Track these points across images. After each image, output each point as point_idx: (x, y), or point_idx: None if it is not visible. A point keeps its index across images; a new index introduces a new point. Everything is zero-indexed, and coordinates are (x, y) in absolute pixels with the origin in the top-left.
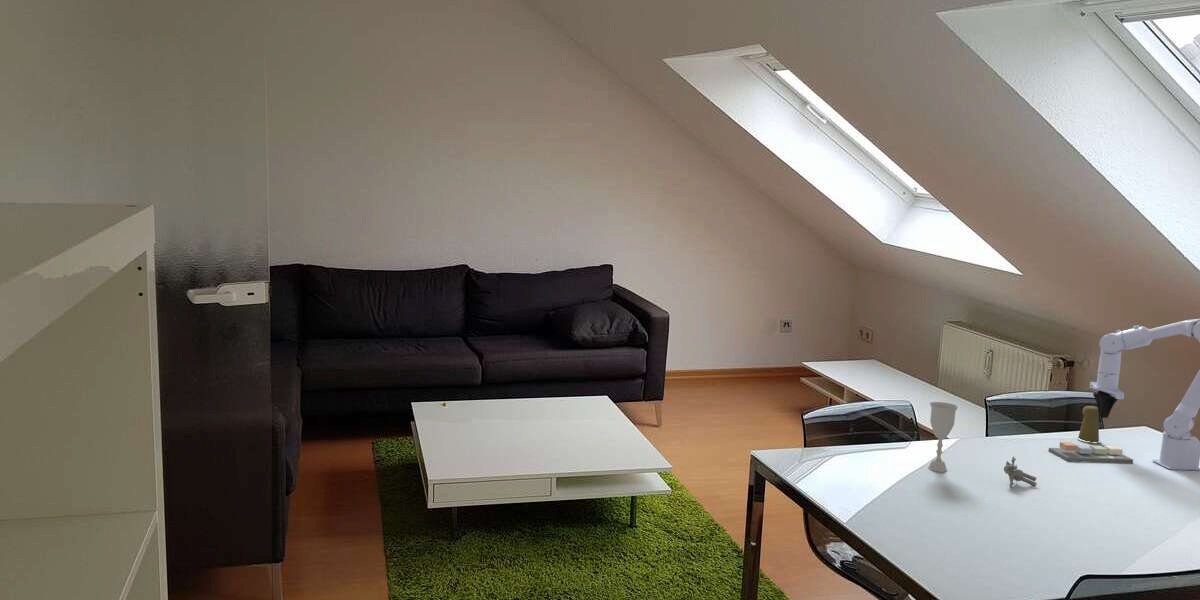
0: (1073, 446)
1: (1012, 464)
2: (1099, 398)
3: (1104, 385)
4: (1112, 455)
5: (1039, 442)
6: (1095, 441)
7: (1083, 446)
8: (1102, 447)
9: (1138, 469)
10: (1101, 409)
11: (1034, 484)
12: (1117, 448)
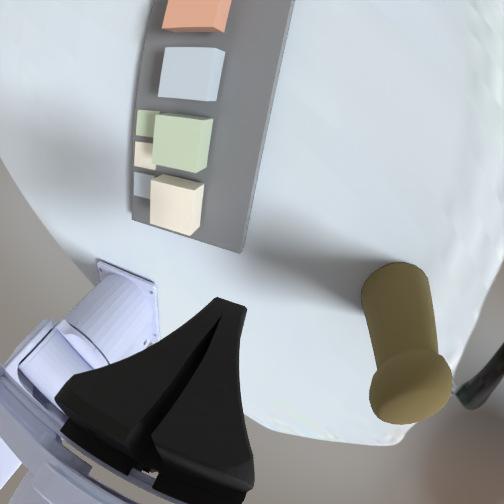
0: (168, 13)
1: None
2: (128, 396)
3: (18, 494)
4: None
5: (431, 56)
6: (363, 294)
7: (189, 76)
8: (171, 160)
9: (90, 180)
10: (178, 328)
11: None
12: (161, 216)
